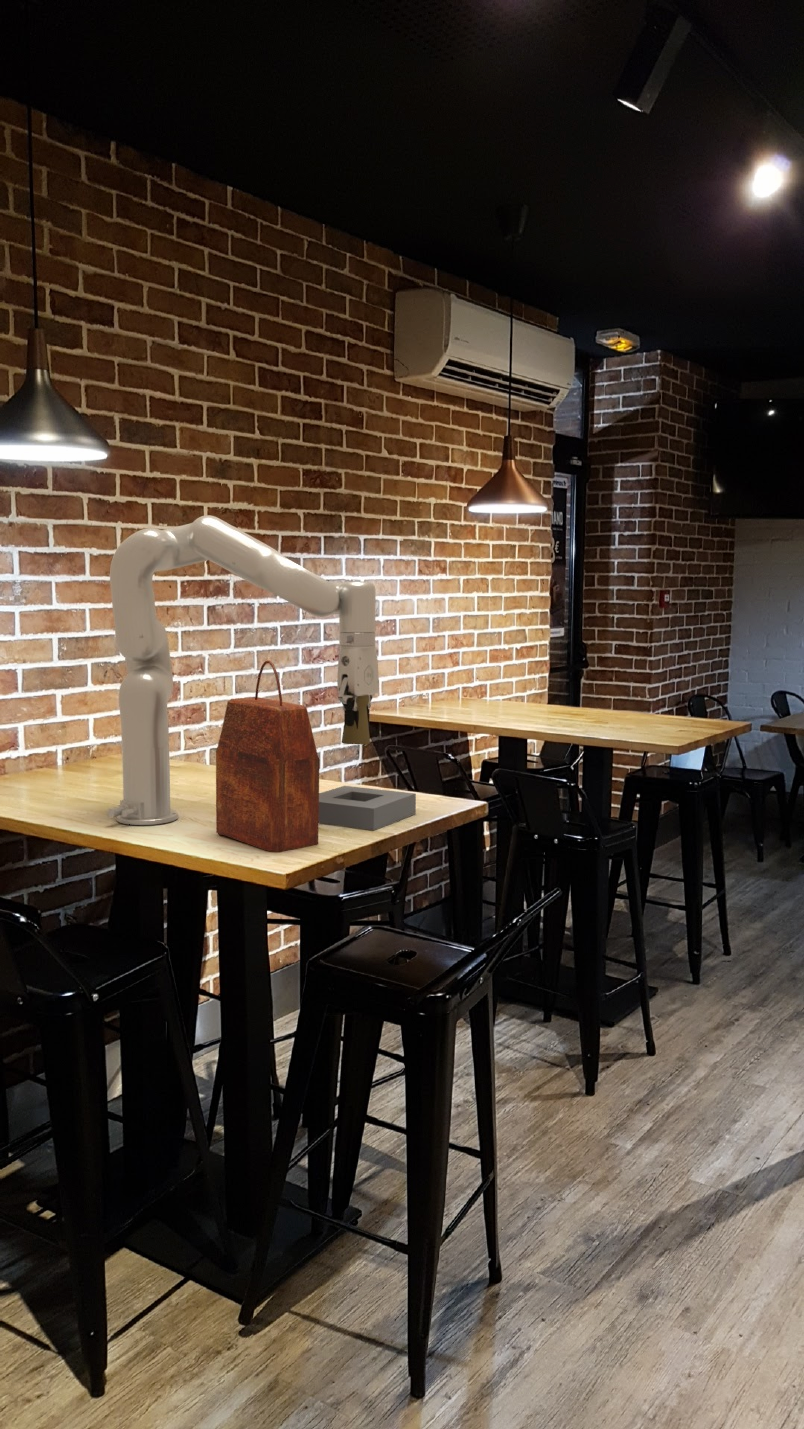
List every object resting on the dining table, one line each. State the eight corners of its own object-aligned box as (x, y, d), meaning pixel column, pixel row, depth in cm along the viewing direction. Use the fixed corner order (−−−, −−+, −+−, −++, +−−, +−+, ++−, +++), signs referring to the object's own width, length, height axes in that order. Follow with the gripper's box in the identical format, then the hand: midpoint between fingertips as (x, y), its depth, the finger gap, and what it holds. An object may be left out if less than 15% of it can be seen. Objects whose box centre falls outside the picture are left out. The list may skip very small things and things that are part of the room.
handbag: (273, 855, 193) (275, 665, 188) (215, 834, 207) (215, 657, 203) (318, 846, 200) (321, 662, 195) (259, 827, 214) (260, 655, 210)
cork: (342, 740, 225) (343, 689, 224) (370, 741, 225) (372, 690, 224) (340, 743, 219) (341, 691, 218) (369, 744, 219) (371, 691, 218)
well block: (373, 830, 212) (373, 808, 211) (299, 820, 220) (299, 799, 220) (415, 814, 228) (415, 793, 227) (344, 805, 236) (344, 785, 236)
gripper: (352, 643, 211) (352, 734, 213) (392, 640, 225) (391, 725, 228) (320, 642, 214) (320, 731, 217) (361, 639, 229) (361, 722, 231)
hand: (356, 727), depth 222 cm, fingers closed on cork, 3 cm apart
